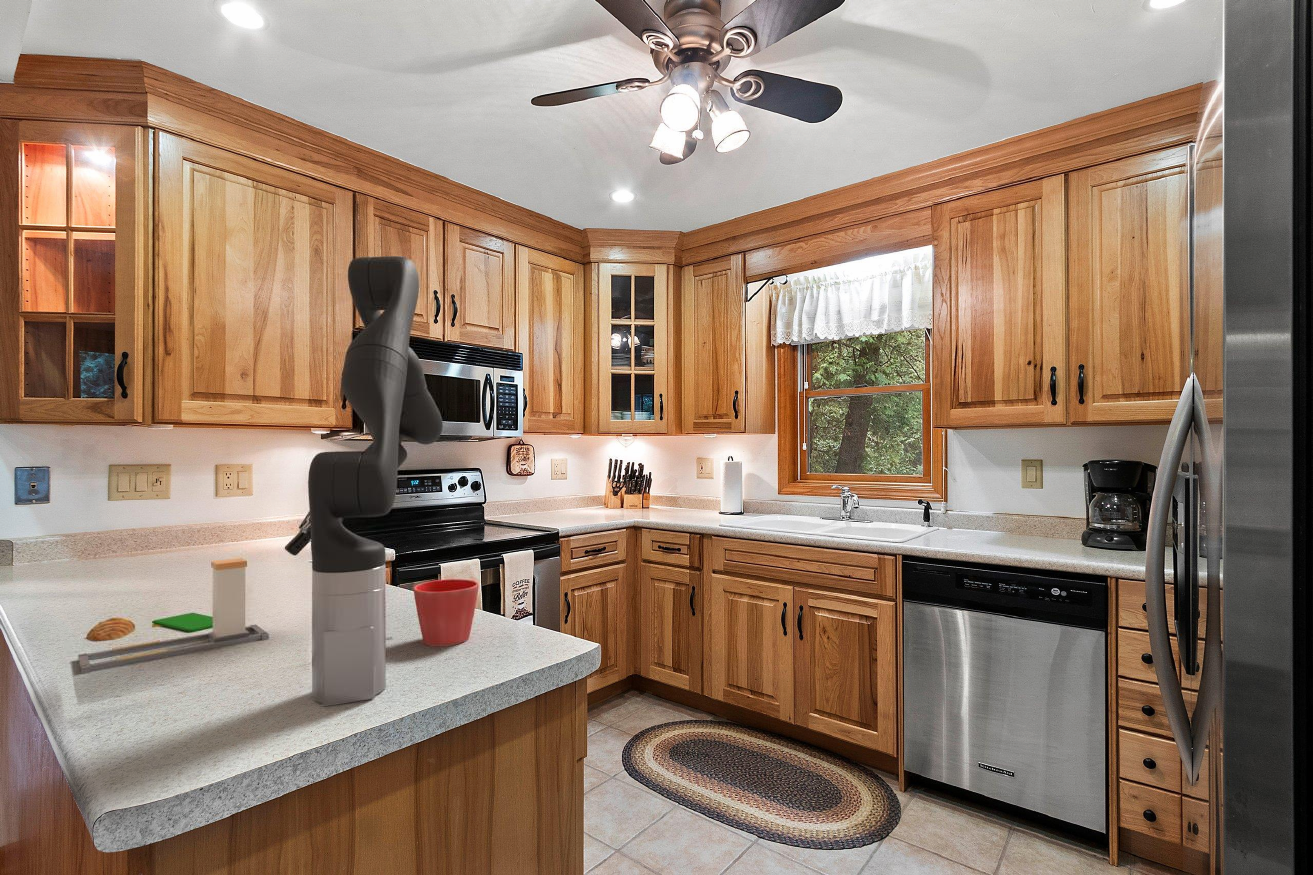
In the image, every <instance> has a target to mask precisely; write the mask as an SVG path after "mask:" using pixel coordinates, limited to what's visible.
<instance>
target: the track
mask: <svg viewBox="0 0 1313 875" xmlns="http://www.w3.org/2000/svg"><path fill="white" fill-rule="evenodd" d="M245 629H246V630H247V631H248V632H249V633H253V634H251V635H250V634H249V636H244V637H238V638H233V639H227V640H222V641H216V642H210V641H209V640H208V633H209V632H208V633H202V634H196V635H195V634H194V635H191V636H189V635H188V636H183V637H178V638H172V639H167V640H154V641H147V642H142V643H134V644H129V645H125V646H124V645H123V646H118V647H113V648H111V649H108V650H102V651H97V652H90V653H81V654H80V653H79V654H78V655H77V660H78V665H79V669H80V674H81V675H83V674H84V675H85V674H90V673H91V672H96V671H100V670H106V669H111V668H116V667H123V666H126V665H133V664H140V663H144V662H149V661H156V660H159V659H165V658H170V657H175V656H181V655H186V654H192V653H193V654H194V653H196V652H203V651H209V650H214V649H219V648H225V647H229V646H235V645H236V646H237V645H241V644H245V643H250V642H251V643H252V642H257V641H264V640H265V641H266V640H269V639H270V634H269V633H268V632H267V631H265V630H264V629H263V628H262V627H261V626H259V625H257V624H249V626H245ZM206 640H208V641H209V642H206V643H201V644H200V643H199V644H195V645H190V646H189V645H188V646H184V647H177V648H174V649H166V648H167V647H172V646H178V645H179V646H180V645H185V644H189V643H190V644H191V643H196V642H202V641H206ZM161 648H165V649H161ZM157 649H160V650H157ZM151 650H154V651H151ZM144 651H149V652H144ZM140 652H142V653H140ZM134 653H136V654H134ZM129 654H130V655H129ZM131 654H132V655H131ZM122 655H123V656H122ZM125 655H126V656H125ZM116 656H120V657H116ZM110 657H116V658H115V659H111V660H106V661H100V662H95V663H90V661H94V660H99V659H100V660H101V659H105V658H110Z"/></svg>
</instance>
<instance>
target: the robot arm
mask: <svg viewBox="0 0 1313 875" xmlns="http://www.w3.org/2000/svg"><path fill="white" fill-rule="evenodd" d="M347 283H348V284H347V285H348V288H349V292H350V296H351V298H352V301H353V304H354V306H355V308H356V311H357V312H358V315H359V317H360V320H361V322H362V324H363V327H364V329H363V330H362V331H360V332H359V333H358V335H357V336H355V338H354V339H353V340H351V342H350V344H349V345H348V348H347V349H346V352H345V357H344V360H343V361H344V362H343V367H342V372H341V373H342V374H341V380H340V384H341V389H342V392H343V395H344V396H345V399H346V401H347V402H348V404H349V405H350V406H351V408H352V409H353V411H355V413H356V414H357V416H358V417H359V418H360V420H361V421H362V423H363V424H364V426H365V427H366V429H367V432H368V433H369V434H370V436H371V439H372V442H371V443H370V445H368V446H367V447H366V448H365V450H359V451H358V450H355V451H354V450H353V451H351V450H347V451H346V450H345V451H343V450H342V451H322V452H319V453H317V454H316V455H315V456H314V457H313V458H312V461H311V462H310V465H309V470H308V478H307V487H308V490H307V491H308V492H307V493H308V507H309V511H308V512H307V514H306V516H305V517H304V518H303V520H302V521H301V523H300V524H299V525H298V529H299V530H298V533H297V534H295V536H294V537H293V538H292V539H291V540H290V541H289V542H288V543H287V544H286V545H285V546H284V550H285V551H286V552H287V553H289V554H290V555H292V556H297V555H299V553H300V552H301V551H302V550H304V548H305V547H306V546H307V545H308V544H309V543H310V552H311V698H312V700H314V701H315V702H317V703H321V704H322V706H323V707H326V706H327V707H328V706H333V705H340V704H345V703H346V704H347V703H352V702H360V701H365V700H372V699H375V696H376V695H378V694H380V693H381V692H382V691H384V690H385V689H386V687H387V686H386V684H387V683H386V680H387V678H386V677H387V672H386V671H387V668H386V667H387V666H386V665H387V664H386V663H387V660H386V659H387V657H386V654H387V652H386V651H387V650H386V648H387V647H386V645H387V644H386V643H387V642H386V640H387V639H386V633H387V632H386V628H387V627H386V626H387V625H386V621H387V620H386V618H387V617H386V614H387V613H386V611H387V610H386V609H387V608H386V605H387V604H386V584H387V583H386V581H387V580H386V575H387V574H386V567H387V566H386V560H387V559H386V557H387V556H386V554H387V553H386V549H385V545H384V544H382V543H381V542H378V541H375V540H372V539H369V538H366V537H362V536H360V535H357V534H356V533H354V532H352V531H351V530H349V529H347V528H346V527H345V526H344V525H343V521H344V519H345V518H374V517H376V518H377V517H382V516H385V515H388V514H389V512H390V511H391V510H392V508H393V507H394V503H395V500H396V495H397V488H398V469H399V468H400V467H401V466H402V465H403V464H404V463H405V461H406V460H407V458H408V452H407V450H406V448H405V447H404V446H403V445H402V442H403V441H404V440H405V438H407V439H410V440H411V441H413V442H415V443H418V444H421V445H426V446H427V445H431V444H434V443H435V442H437V441H438V440H439V438H440V436H441V435H442V432H443V428H444V426H443V425H444V424H443V423H444V422H443V418H442V415H441V412H440V409H439V408H438V407H437V405H436V402H435V400H434V399H433V396H432V395H431V393H430V391H429V390H428V387H427V386H428V385H427V382H426V377H425V373H424V369H423V365H422V362H421V361H420V358H419V356H417V354H416V353H415V351H414V349H412V348H411V347H410V338H411V331H412V327H413V322H414V318H415V313H416V310H417V304H418V299H419V292H420V279H419V272H418V269H417V267H416V265H415V263H414V262H413V261H412V260H411V259H410V258H408V257H405V256H394V255H391V256H389V255H387V256H385V255H384V256H361V257H355V258H353V259H351V261H350V262H349V264H348V268H347ZM381 311H382V312H381ZM343 518H344V519H343Z"/></svg>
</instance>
